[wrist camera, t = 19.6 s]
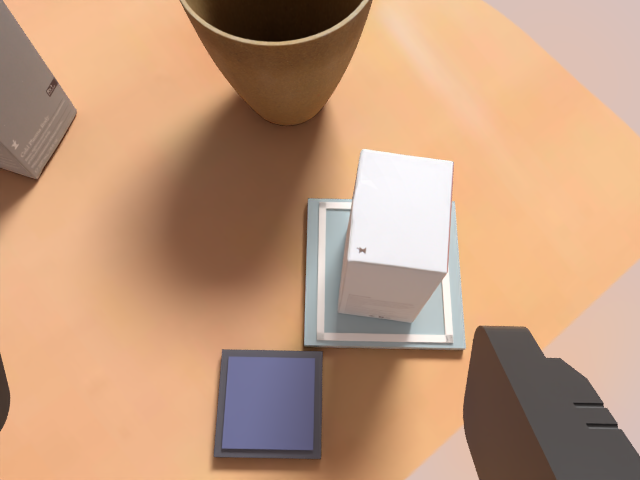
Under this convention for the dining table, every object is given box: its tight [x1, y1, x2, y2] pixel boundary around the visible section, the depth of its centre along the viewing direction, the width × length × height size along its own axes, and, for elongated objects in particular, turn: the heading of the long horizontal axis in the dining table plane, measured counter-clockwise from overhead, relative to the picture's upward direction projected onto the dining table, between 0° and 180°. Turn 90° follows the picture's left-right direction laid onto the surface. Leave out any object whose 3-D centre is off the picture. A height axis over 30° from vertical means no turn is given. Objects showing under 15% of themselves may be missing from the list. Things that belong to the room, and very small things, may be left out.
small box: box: [337, 149, 454, 323], centre depth 42 cm, size 8×6×13 cm
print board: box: [304, 198, 466, 350], centre depth 48 cm, size 13×13×1 cm
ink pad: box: [214, 349, 323, 459], centre depth 44 cm, size 8×8×1 cm
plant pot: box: [180, 0, 372, 126], centre depth 48 cm, size 15×15×16 cm
